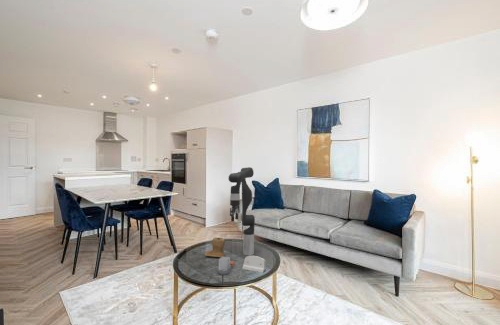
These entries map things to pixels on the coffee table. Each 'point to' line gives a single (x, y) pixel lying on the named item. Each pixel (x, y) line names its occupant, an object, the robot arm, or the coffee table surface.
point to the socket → (224, 263)
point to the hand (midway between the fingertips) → (234, 220)
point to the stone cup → (216, 248)
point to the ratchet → (223, 272)
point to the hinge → (254, 263)
